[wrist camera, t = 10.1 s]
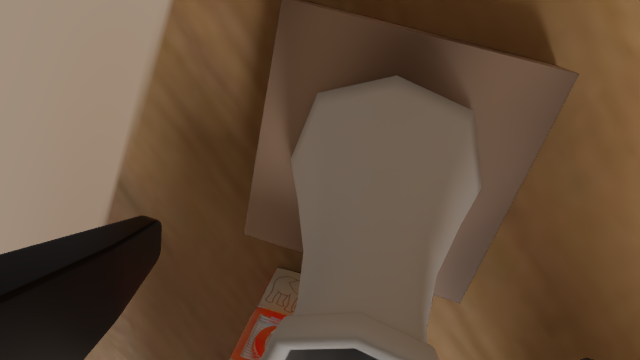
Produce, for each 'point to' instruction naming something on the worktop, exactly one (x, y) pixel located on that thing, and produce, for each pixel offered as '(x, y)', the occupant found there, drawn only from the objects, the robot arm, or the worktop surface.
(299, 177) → the flask
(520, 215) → the worktop surface
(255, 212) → the plinth
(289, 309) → the stack of blocks
